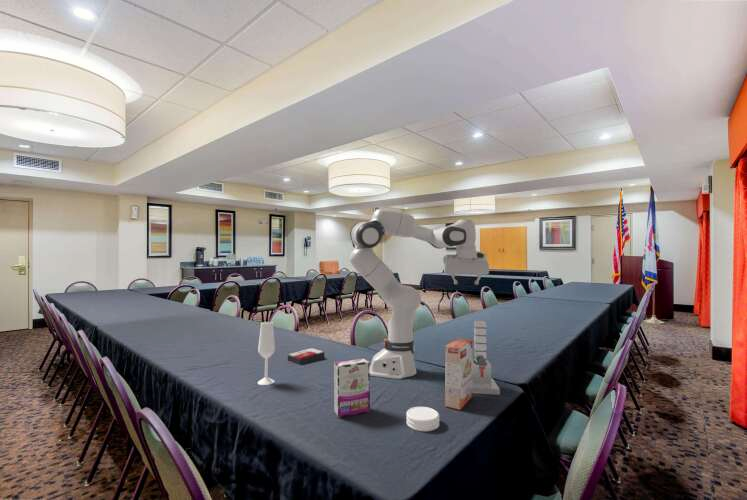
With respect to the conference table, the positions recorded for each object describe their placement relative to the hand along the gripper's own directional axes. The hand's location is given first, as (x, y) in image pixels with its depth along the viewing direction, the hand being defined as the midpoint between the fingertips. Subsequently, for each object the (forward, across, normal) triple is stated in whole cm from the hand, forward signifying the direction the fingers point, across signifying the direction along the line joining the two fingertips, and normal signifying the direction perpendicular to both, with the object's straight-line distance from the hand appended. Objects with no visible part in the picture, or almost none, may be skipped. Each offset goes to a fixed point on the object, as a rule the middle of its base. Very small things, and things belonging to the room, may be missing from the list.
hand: (466, 284), depth 159 cm
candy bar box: (+39, -44, -51) cm, 78 cm away
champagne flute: (+39, -84, -28) cm, 97 cm away
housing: (+39, +2, -23) cm, 45 cm away
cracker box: (+39, -8, -38) cm, 55 cm away
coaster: (+40, -21, -56) cm, 72 cm away
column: (+33, +2, -23) cm, 40 cm away
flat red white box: (+40, -78, +6) cm, 88 cm away
